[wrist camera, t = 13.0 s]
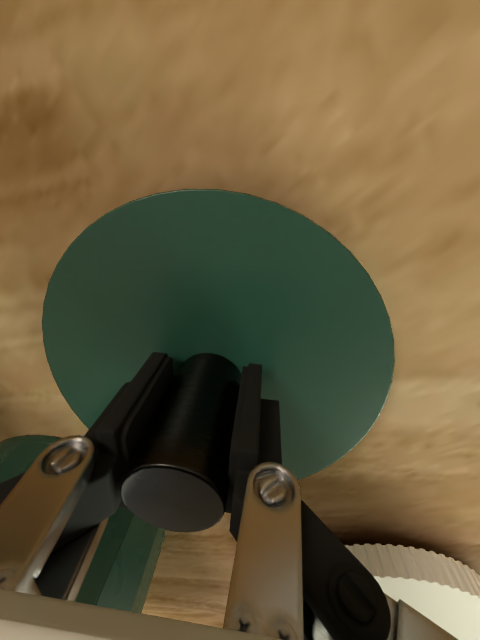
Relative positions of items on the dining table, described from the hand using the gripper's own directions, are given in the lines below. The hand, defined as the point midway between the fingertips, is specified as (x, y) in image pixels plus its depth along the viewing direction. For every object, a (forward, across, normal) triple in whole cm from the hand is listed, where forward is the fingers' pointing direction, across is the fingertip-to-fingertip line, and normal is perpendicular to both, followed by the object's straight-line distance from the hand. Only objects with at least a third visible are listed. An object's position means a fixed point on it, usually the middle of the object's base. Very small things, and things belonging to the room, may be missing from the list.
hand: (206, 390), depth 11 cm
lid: (+1, 0, 0) cm, 1 cm away
